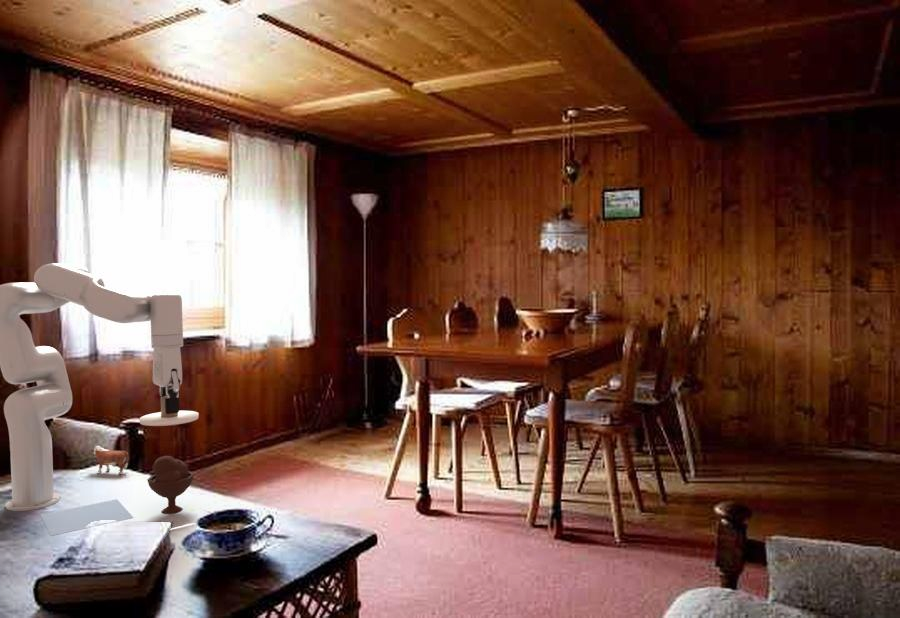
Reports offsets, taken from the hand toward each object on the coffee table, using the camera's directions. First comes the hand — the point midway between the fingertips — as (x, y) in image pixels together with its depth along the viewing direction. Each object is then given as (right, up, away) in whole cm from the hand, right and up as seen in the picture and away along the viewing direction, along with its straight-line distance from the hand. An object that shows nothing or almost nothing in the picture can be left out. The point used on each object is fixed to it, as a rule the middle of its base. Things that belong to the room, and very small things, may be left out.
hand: (169, 411), depth 168 cm
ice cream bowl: (0, -27, +1) cm, 27 cm away
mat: (-20, -27, -2) cm, 34 cm away
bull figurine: (-35, -25, +37) cm, 57 cm away
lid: (0, -2, 0) cm, 2 cm away
